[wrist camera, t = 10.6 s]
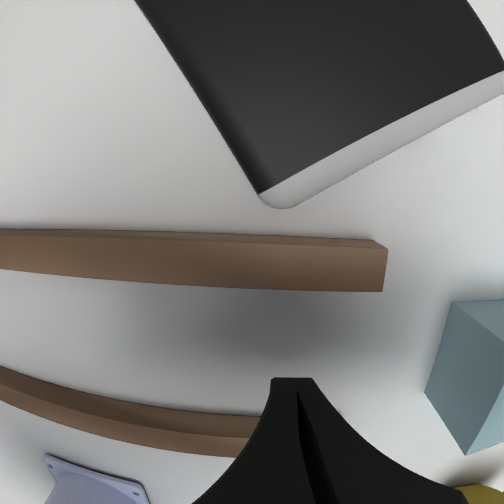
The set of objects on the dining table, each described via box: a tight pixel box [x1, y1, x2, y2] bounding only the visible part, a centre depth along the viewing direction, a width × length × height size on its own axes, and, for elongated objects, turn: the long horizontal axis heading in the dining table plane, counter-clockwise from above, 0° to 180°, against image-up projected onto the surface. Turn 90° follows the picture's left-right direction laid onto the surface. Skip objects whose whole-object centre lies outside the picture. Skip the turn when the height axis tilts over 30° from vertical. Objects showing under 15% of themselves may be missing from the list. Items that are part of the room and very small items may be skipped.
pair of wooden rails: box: [0, 229, 388, 458], centre depth 12 cm, size 10×20×2 cm, turn 88°
